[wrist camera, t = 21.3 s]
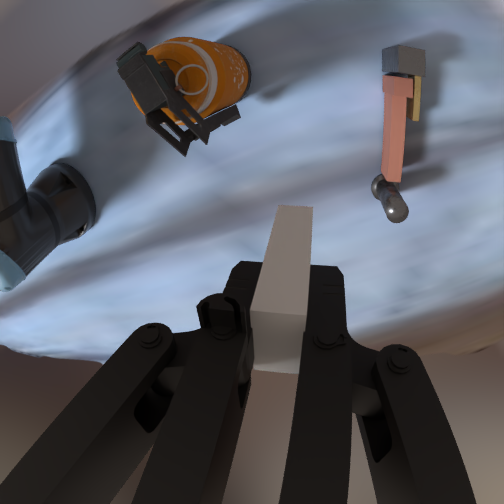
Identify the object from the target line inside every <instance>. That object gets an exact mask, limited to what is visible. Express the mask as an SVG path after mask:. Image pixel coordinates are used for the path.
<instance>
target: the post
mask: <svg viewBox="0 0 504 504" xmlns="http://www.w3.org/2000/svg"><path fill="white" fill-rule="evenodd" d="M371 190H372V193H373V195H374V197H375V198H376V199H378V200H380V201H381V204H382V206H383V208H384V211H385V213H386V215H387V218H388V219H389V220H390V221H391V222H393V223H400V222H403V221H404V220H405V219H406V218H407V216H408V213H409V210H408V207H407V205H406V203H405V201H404V200H403V198H402V196H401V195H400V193H399V184H398V182H390V181H387V180H386V179H385V177H384V175H383V174H381V175H378V176H377V177H376V178H375V179H374V180H373V182H372V185H371Z"/></svg>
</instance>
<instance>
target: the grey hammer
mask: <svg viewBox="0 0 504 504" xmlns="http://www.w3.org/2000/svg"><path fill="white" fill-rule="evenodd" d="M382 71H383V72H390V73H396V74H403V75H408V78H409V79H413V98H409V97H407V105H406V117H407V118H409V119H411V120H413V121H419V112H420V96H421V77H425V50H421V49H416V48H411V47H406V46H400V45H397V46H394V47H390V48H386V49H383V50H382ZM419 76H421V77H419Z"/></svg>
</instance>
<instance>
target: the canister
mask: <svg viewBox="0 0 504 504" xmlns="http://www.w3.org/2000/svg"><path fill="white" fill-rule="evenodd" d="M116 60H117V61H118V62H117V66H118V67H119V69H118V73H119V75H120V76H121V78H122V79H123V80H124V81H125V83H126V84H127V86H128V88H129V89H130V91H131V95H132V98H133V101H134V103H135V105H136V106H137V108H138V109H139V110H140V111H141V112H142V113H143V114H144V115H145V118H146V124H147V125H148V126H149V127H151V128H152V129H153V130H154V131H155V132H157V133H158V134H159V135H160V136H161V137H162V138H164V139H165V140H166V141H167V142H168V143H169V144H171V145H172V146H173V147H174V148H175V149H176V150H177V151H179V152H180V153H181V154H182V155H183V156H184V157H186V155H187V151H188V148H189V145H190V142H192V141H193V140H195V141H196V140H198V139H199V138H200V139H201V140H202V141H203V142H204V143H205V144H206V145H207V143H208V139H209V135H210V132H212V131H213V130H215V129H217V128H218V127H220V126H221V125H220V124H222V125H223V126H226V125H228V124H230V123H231V122H233V121H235V120H237V119H239V118H241V117H240V114H239V111H238V108H237V106H236V104H235V103H237V102H238V101H239V100H240V99H241V98H242V97H243V96H244V95H245V94H246V92H247V90H248V88H249V85H250V81H251V70H250V66H249V63H248V61H247V60H246V58H245V57H244V55H243V54H242V53H241V52H239V51H238V50H236V49H235V48H233V47H231V46H227V45H223V44H219V43H215V42H211V41H206V40H202V39H197V38H192V37H177V38H173V39H170V40H167V41H165V42H163V43H159V44H157V45H155V46H153V47H152V48H150V49H148V50H147V49H146V47H145V46H144V45H143V44H142V43H140V42H137V43H135V44H134V45H133V46H132V47H131V48H129V49H128V50H127V51H126V52H124V53H123V54H122V55H121V56H120V57H119V58H117V59H116ZM233 104H235V105H233ZM231 105H233V106H231ZM229 106H231V107H229ZM227 107H229V108H227ZM225 108H227V109H225ZM223 109H225V110H223ZM221 110H223V111H221ZM218 111H221V112H219V113H217V114H214V113H216V112H218ZM212 114H214V115H212ZM210 115H212V116H210ZM208 116H210V117H208ZM206 117H208V118H206ZM204 118H206V119H204ZM196 122H197V123H198V124H194V123H196ZM160 124H166V125H167V126H168V127H169V128H170V129H171V130H172V131H173V132H174V133H175V134H176V135H177V136H178V137H179V138H180V142H179V141H178V140H177V139H176V138H175V137H173V136H172V135H171V134H170V133H169V132H168V131H166V130H165V129H164V128H163V127H162V126H161V125H160ZM178 125H186V126H187V127H188V128H189V129H188V130H186V131H183V130H182V129H181V128H180V127H179V126H178Z"/></svg>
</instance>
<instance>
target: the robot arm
mask: <svg viewBox="0 0 504 504" xmlns="http://www.w3.org/2000/svg"><path fill="white" fill-rule="evenodd" d="M16 143H17V141H16V139H15V138H14V133H13V128H12V123H11V121H10V120H9V119H8V118H7V117H4V116H0V291H2V292H8V291H11V290H12V289H14V288H15V287H16V286H17V285H18V284H19V283H21V282H22V281H24V280H25V279H26V277H27V275H28V274H29V273H30V272H31V271H32V270H33V269H34V268H35V267H36V266H37V265H38V264H39V263H40V262H41V261H42V260H43V259H44V258H45V257H46V256H47V255H48V254H49V253H50V252H51V251H52V250H54V249H55V248H56V247H57V246H58V245H60V244H63V243H66V242H69V241H71V240H74V239H77V238H79V237H81V236H82V235H83V234H85V233H86V232H87V231H88V230H89V229H90V228H91V226H92V225H93V222H94V219H95V202H94V198H93V195H92V192H91V190H90V188H89V186H88V184H87V182H86V181H85V179H84V178H83V177H82V176H81V174H80V173H79V172H78V171H76V170H75V169H74V168H72V167H71V166H69V165H66V164H62V163H57V164H53V165H51V166H49V167H47V168H46V169H44V170H43V171H41V172H40V173H39V175H38V176H37V177H36V178H35V180H34V181H33V182H32V184H31V185H30V186H29V188H28V189H27V190H26V188H25V184H24V180H23V175H22V171H21V167H20V162H19V157H18V152H17V147H16ZM312 217H313V207H307V206H289V205H278V209H277V213H276V217H275V220H274V224H273V228H272V231H271V235H270V239H269V242H268V246H267V250H266V253H265V257H264V261H263V262H251V261H240V262H239V263H238V264H237V265H236V266H235V267H234V268H232V271H231V273H230V276H229V280H228V281H227V283H226V287H225V288H224V291H223V293H217V294H213V295H210V296H207V297H206V298H204V299H203V300H201V301H200V302H199V304H198V305H197V306H196V308H197V312H198V317H199V321H200V326H201V328H200V329H197V330H194V331H189V332H181V333H172V331H171V330H170V328H169V327H167V326H166V325H164V324H161V323H148V324H145V325H143V326H140V327H139V328H138V329H137V330H135V331H134V332H133V333H132V334H131V335H130V336H129V337H128V339H127V340H126V341H125V342H124V343H123V344H122V345H121V346H120V347H119V348H118V349H117V350H116V352H115V353H114V354H113V355H112V356H111V357H110V358H109V359H108V360H107V361H106V363H105V364H104V365H103V366H102V367H101V368H100V369H99V370H98V371H97V372H96V374H95V375H94V376H93V377H92V378H91V379H90V380H89V381H88V383H87V384H86V385H85V386H84V387H83V388H82V389H81V390H80V392H79V393H78V394H77V395H76V396H75V397H74V398H73V400H72V401H71V402H70V403H69V404H68V405H67V406H66V407H65V409H64V410H63V411H62V412H61V413H60V414H59V415H58V417H57V418H56V419H55V420H54V421H53V422H52V423H51V425H50V426H49V427H48V428H47V429H46V430H45V432H44V433H43V434H42V435H41V436H40V438H39V439H38V440H37V441H36V442H35V443H34V444H33V446H32V447H31V448H30V449H29V451H28V452H27V453H26V454H25V455H24V456H23V458H22V459H21V460H20V461H19V462H18V464H17V465H16V466H15V467H14V469H13V470H12V471H11V472H10V473H9V475H8V476H7V477H6V479H5V480H4V481H3V482H2V483H1V485H0V504H110V502H111V501H112V500H113V498H114V497H115V496H116V494H117V493H118V492H119V490H120V489H121V488H122V486H123V485H124V484H125V482H126V481H127V480H128V478H129V477H130V476H131V474H132V473H133V471H134V470H135V469H136V467H137V466H138V464H139V463H140V462H141V460H142V459H143V458H144V456H145V455H146V454H147V452H148V451H149V450H150V448H151V447H152V445H153V444H154V446H153V449H152V451H151V454H150V456H149V459H148V462H147V464H146V467H145V469H144V472H143V475H142V477H141V480H140V483H139V485H138V488H137V490H136V493H135V496H134V498H133V501H132V504H222V500H223V496H224V492H225V488H226V485H227V481H228V477H229V473H230V469H231V465H232V461H233V457H234V453H235V449H236V445H237V441H238V437H239V433H240V429H241V425H242V421H243V416H244V412H245V408H246V404H247V400H248V395H249V391H250V386H251V371H252V367H253V363H254V370H263V371H272V372H282V373H293V374H299V376H298V384H297V391H296V398H295V406H294V413H293V420H292V427H291V434H290V441H289V447H288V454H287V459H286V465H285V471H284V477H283V483H282V489H281V494H280V500H279V504H347V498H348V487H349V474H350V456H351V434H352V413H355V414H356V418H357V421H358V425H359V429H360V433H361V436H362V440H363V444H364V448H365V452H366V456H367V460H368V465H369V469H370V472H371V476H372V481H373V485H374V490H375V495H376V499H377V504H476V500H475V497H474V494H473V490H472V487H471V484H470V481H469V478H468V474H467V472H466V469H465V466H464V463H463V460H462V457H461V454H460V451H459V449H458V446H457V443H456V440H455V438H454V435H453V433H452V430H451V427H450V425H449V423H448V420H447V418H446V415H445V413H444V410H443V408H442V406H441V403H440V401H439V398H438V396H437V394H436V392H435V389H434V387H433V385H432V383H431V380H430V378H429V376H428V374H427V372H426V369H425V367H424V365H423V363H422V361H421V359H420V357H419V356H418V355H417V353H416V352H415V351H414V350H412V349H411V348H409V347H407V346H404V345H401V344H391V345H389V346H386V347H384V348H383V349H382V350H381V351H380V352H379V351H376V350H373V349H370V348H366V347H364V346H362V345H360V344H358V343H357V342H355V341H354V340H353V339H352V338H351V336H350V335H349V333H348V330H347V322H346V304H345V288H344V276H343V274H342V273H341V271H340V270H339V268H338V267H337V266H323V265H310V260H311V241H312Z"/></svg>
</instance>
